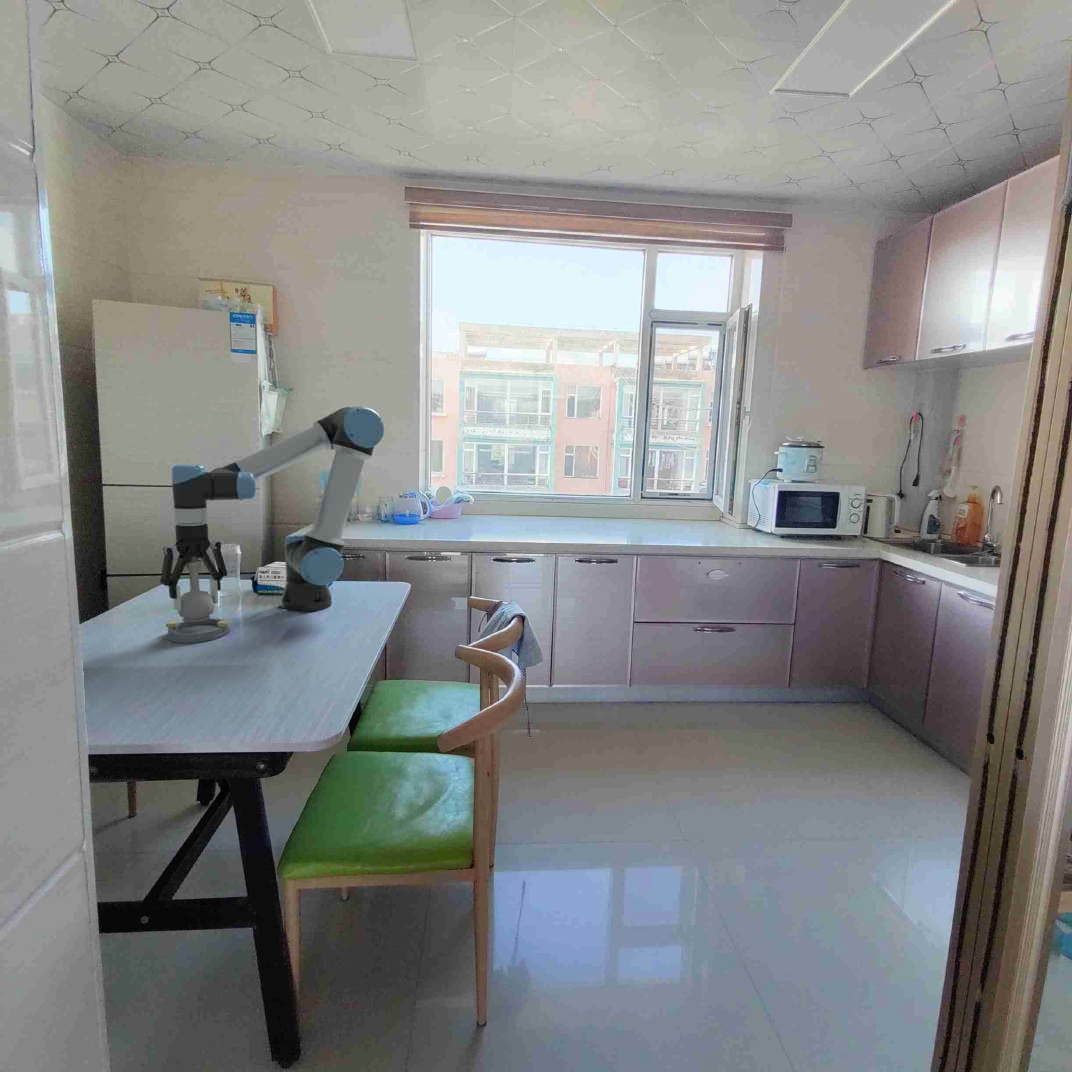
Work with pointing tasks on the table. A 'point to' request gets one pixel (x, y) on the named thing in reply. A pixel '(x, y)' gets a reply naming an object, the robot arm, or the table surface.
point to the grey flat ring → (197, 630)
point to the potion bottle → (195, 597)
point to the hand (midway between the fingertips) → (196, 606)
